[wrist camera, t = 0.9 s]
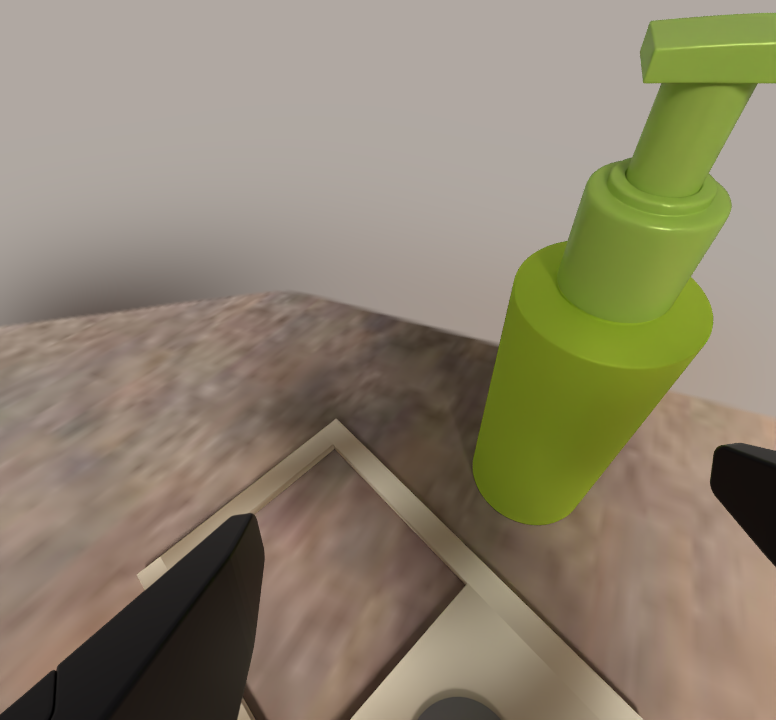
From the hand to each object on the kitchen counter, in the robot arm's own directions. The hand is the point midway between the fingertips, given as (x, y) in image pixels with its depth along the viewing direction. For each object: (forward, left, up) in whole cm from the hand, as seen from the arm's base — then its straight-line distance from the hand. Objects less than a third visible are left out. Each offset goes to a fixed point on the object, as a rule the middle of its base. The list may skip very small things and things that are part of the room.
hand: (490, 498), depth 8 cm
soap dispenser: (+1, -9, -15) cm, 17 cm away
